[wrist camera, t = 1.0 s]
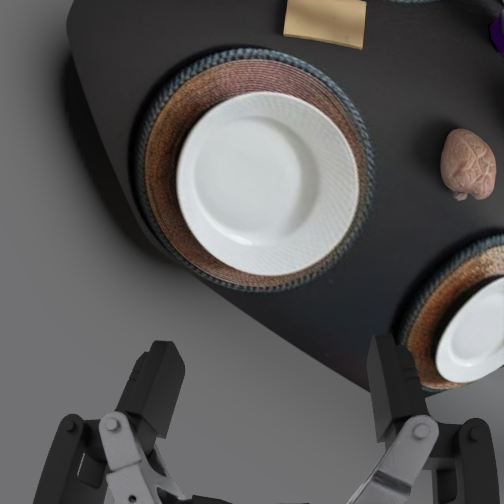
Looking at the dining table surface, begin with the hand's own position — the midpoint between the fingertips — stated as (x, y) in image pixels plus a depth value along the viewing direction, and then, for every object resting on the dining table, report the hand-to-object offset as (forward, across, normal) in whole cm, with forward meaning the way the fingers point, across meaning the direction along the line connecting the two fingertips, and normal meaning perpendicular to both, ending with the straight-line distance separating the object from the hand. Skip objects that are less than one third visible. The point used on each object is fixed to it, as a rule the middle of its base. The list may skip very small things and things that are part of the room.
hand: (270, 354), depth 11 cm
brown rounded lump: (+22, -21, -1) cm, 31 cm away
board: (+24, -7, -17) cm, 31 cm away
